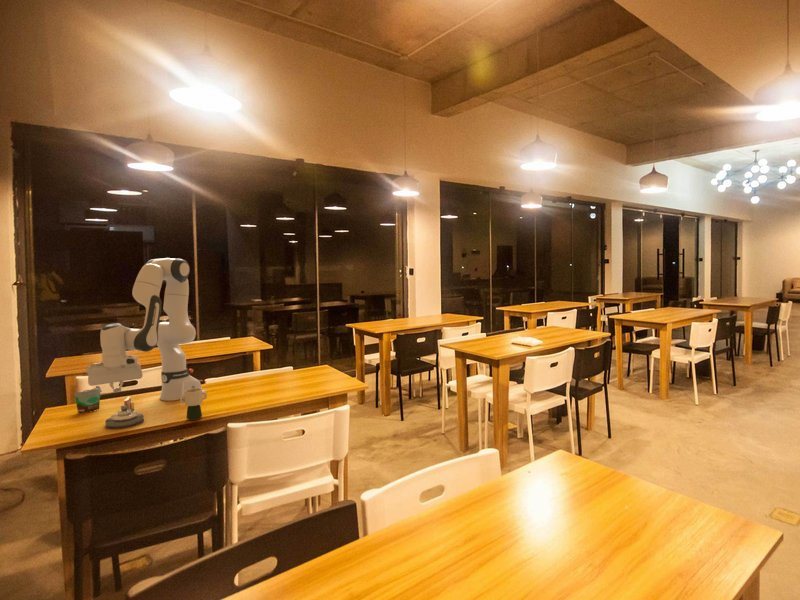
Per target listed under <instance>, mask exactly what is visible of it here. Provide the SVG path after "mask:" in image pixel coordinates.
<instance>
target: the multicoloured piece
mask: <svg viewBox="0 0 800 600" xmlns="http://www.w3.org/2000/svg"><path fill="white" fill-rule="evenodd" d="M123 403H124V404H123V405H128V410H126V411H121V409H120V410H118V411H117V413H114V414H112V415H111V417H110V418H111V420H112V421H115V422H120V421H127V420H131V419H134V418H136V417H138V413H139V412H138V411H137V410H134V411H131V409H130V403H132V397H131V396H127V397H126V398H125V399H124V400H123Z"/></svg>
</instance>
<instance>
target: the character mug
mask: <svg viewBox="0 0 800 600" xmlns="http://www.w3.org/2000/svg"><path fill="white" fill-rule="evenodd" d="M201 388H202V387H201ZM201 388H191V389H187V390H185V395H183V396H180V400H179V403H180V404H184V405H185V406H187V410H186V419H187V420H192V421H194V420H199V419H201V418H202V417H203V413H202V407H201V405H202V403H203V400H206V399H207V398H208V396H207V395H208V394H207V393H208V392H207V391H206V392H202V389H201ZM203 396H204V397H203ZM182 398H185V399H184V400H182Z"/></svg>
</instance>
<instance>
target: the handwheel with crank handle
mask: <svg viewBox="0 0 800 600" xmlns="http://www.w3.org/2000/svg"><path fill="white" fill-rule="evenodd" d="M130 409H131V411H135V403H134V402H132V401H131V403H130ZM120 410H121V411H126V410H128V405H124V404H123V405H121V406H120ZM144 420H145V415H144V414H143V413H139V412H138V417H136V418H134V419H131V420H127V421H120V422H115V421H112V420H111V417H109V418H107V419H106V420H105V425H104V426H105V428H107V429H111V430H117V429H118V430H119V429H125V428H131V427H135V426H138V425H140V424H142V423H144Z"/></svg>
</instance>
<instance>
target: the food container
mask: <svg viewBox="0 0 800 600" xmlns="http://www.w3.org/2000/svg"><path fill="white" fill-rule="evenodd" d="M101 393H102V388H101V387H100V386H99V385H95V388H92V389H86V390H84V391H79V392H77V391H76V392H74V394H73V398H75V403H76V410H77V413H78V412H79V413H78V414H81V413H80V412H83V413H82V414H85V413H84V412H88V413H91V412H90V411H92V412H95V411H94V410H96V411H98V410H99V409H100V402H101V401H100V400H101ZM97 409H98V410H97Z"/></svg>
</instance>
